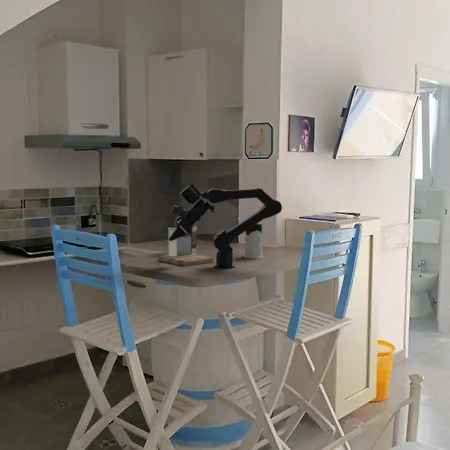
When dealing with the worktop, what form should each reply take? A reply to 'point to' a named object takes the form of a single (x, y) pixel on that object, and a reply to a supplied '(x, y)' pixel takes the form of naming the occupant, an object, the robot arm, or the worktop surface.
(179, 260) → the wooden board
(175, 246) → the teal rectangular block
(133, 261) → the worktop surface
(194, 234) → the supplement box
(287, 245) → the worktop surface
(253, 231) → the glass holder
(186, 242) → the grey metal bookend
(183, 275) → the worktop surface
